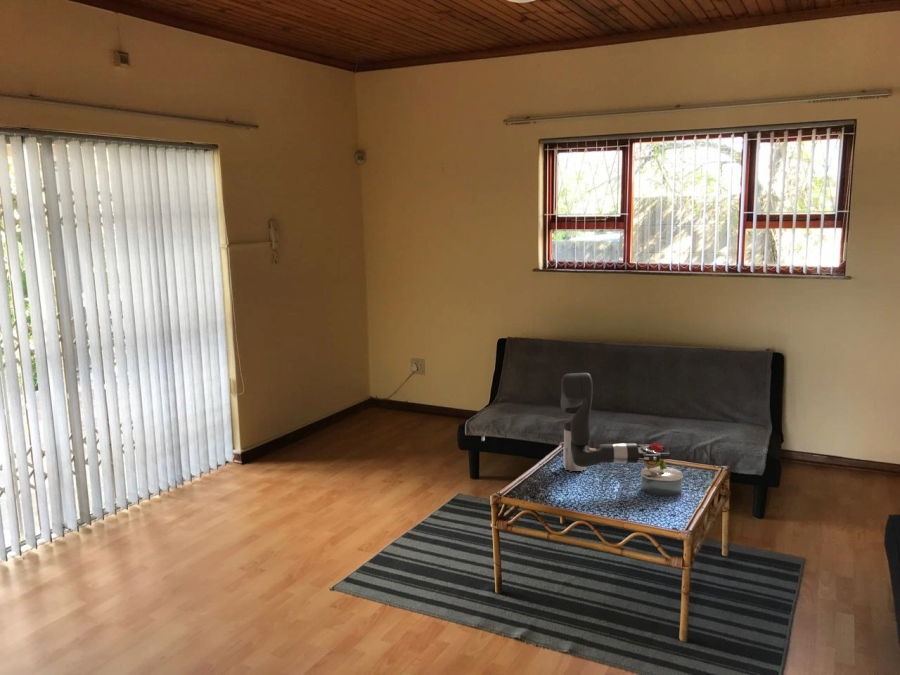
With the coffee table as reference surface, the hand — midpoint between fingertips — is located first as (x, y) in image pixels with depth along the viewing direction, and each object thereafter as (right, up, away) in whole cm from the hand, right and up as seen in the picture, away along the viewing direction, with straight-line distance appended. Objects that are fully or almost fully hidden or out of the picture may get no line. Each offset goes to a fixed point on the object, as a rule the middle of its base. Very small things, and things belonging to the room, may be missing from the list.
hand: (667, 452), depth 275 cm
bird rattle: (-3, -7, +5) cm, 9 cm away
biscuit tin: (-1, -15, +2) cm, 15 cm away
